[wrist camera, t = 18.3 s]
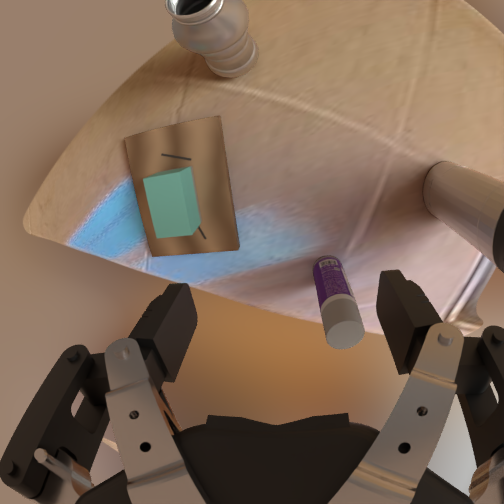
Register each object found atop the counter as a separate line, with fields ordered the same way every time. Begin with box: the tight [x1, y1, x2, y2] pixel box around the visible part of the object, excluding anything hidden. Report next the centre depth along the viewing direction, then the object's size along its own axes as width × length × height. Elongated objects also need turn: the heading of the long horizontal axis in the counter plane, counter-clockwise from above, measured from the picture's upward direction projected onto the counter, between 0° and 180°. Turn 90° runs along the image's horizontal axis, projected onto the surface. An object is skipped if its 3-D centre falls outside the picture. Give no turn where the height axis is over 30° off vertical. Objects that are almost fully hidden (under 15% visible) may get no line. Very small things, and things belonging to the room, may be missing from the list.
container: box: [313, 256, 365, 349], centre depth 35 cm, size 5×5×15 cm
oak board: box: [125, 116, 240, 257], centre depth 37 cm, size 14×19×2 cm
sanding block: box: [143, 166, 202, 238], centre depth 34 cm, size 5×8×5 cm, turn 7°
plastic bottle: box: [165, 0, 259, 78], centre depth 20 cm, size 6×7×20 cm
